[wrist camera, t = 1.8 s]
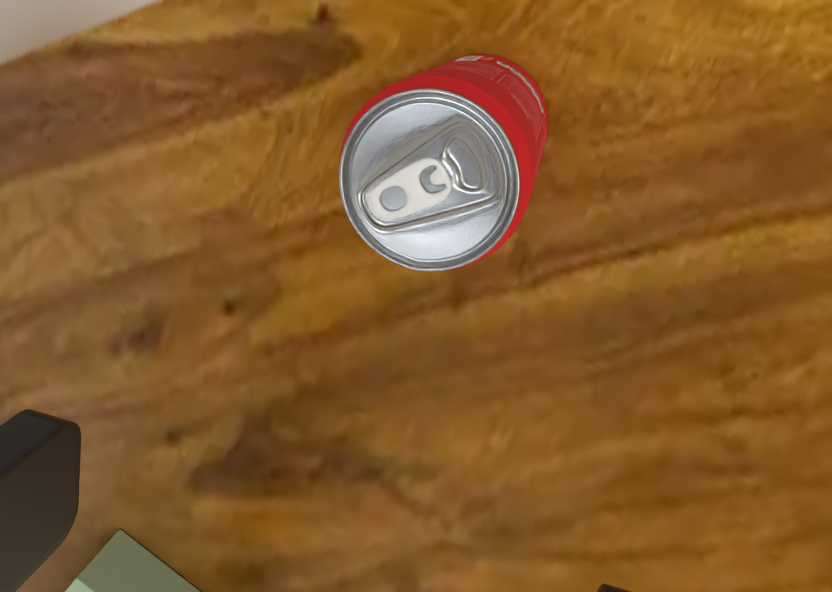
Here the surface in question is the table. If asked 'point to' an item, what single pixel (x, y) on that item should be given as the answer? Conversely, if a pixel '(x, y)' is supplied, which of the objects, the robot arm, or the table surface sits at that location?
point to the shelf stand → (128, 570)
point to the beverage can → (444, 162)
